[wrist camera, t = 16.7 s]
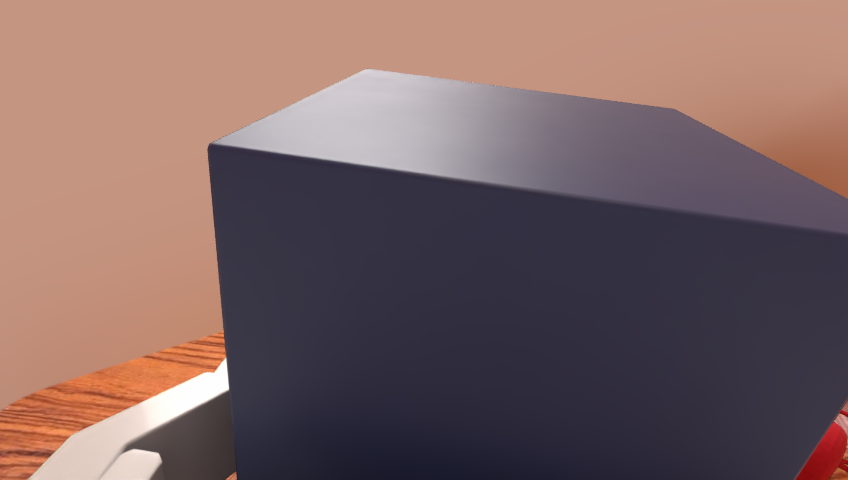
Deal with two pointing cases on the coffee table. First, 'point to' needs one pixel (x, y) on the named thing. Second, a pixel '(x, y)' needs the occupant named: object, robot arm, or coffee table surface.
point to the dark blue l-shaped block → (521, 290)
